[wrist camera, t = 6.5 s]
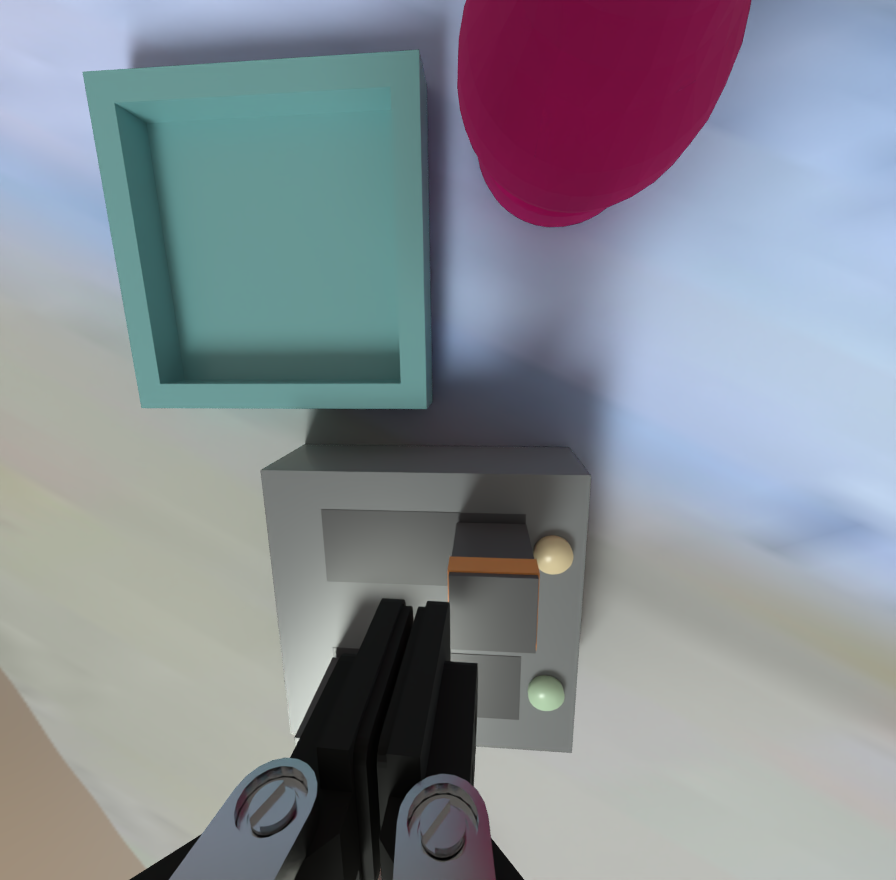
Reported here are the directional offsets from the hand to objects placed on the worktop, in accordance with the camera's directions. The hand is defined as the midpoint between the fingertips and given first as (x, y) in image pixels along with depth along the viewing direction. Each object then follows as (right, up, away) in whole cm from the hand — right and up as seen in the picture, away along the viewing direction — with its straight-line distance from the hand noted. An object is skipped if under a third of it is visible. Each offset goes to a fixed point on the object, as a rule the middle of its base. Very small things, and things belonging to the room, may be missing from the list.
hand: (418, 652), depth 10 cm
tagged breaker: (+2, +1, +5) cm, 6 cm away
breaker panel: (0, -1, +10) cm, 10 cm away
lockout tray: (-6, +13, +8) cm, 16 cm away
